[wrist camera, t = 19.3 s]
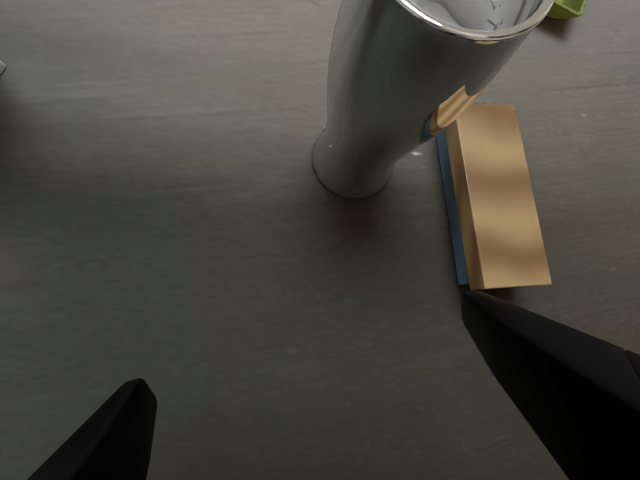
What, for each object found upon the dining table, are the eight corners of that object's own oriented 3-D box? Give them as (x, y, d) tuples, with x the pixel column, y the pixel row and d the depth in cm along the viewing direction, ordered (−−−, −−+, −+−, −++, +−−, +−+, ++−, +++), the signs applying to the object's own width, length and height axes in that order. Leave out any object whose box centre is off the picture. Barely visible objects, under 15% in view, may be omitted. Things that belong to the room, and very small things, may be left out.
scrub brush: (514, 288, 25) (552, 284, 21) (455, 292, 24) (484, 288, 21) (485, 129, 27) (514, 104, 24) (431, 128, 27) (453, 102, 23)
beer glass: (364, 105, 26) (481, -155, 12) (413, 177, 25) (604, -2, 11) (288, 142, 24) (314, -104, 10) (338, 221, 24) (446, 79, 9)
